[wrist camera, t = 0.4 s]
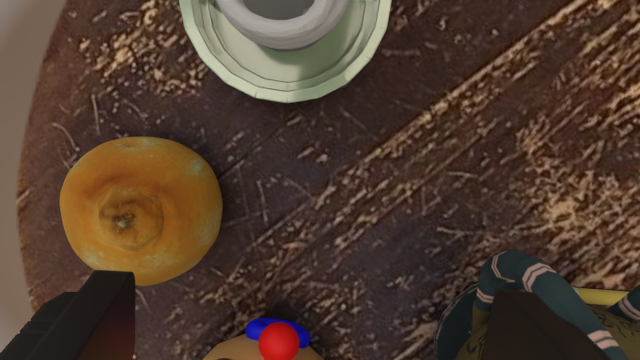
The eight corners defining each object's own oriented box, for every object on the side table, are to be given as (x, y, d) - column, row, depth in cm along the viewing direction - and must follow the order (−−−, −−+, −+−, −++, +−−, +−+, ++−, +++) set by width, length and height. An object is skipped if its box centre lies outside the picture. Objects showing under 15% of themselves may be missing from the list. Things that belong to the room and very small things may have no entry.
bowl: (210, -101, 28) (191, -141, 24) (391, -68, 29) (409, -99, 24) (189, 84, 30) (167, 84, 25) (360, 112, 31) (371, 116, 26)
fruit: (214, 100, 28) (100, 153, 22) (269, 231, 30) (181, 315, 24) (118, 132, 32) (-1, 184, 26) (172, 245, 34) (75, 319, 28)
